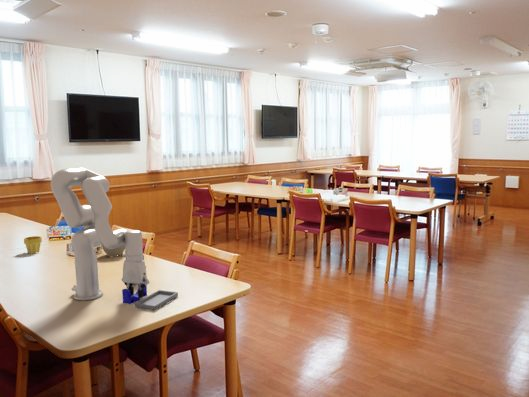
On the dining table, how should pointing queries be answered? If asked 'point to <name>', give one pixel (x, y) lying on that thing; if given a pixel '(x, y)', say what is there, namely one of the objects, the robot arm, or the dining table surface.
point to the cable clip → (132, 296)
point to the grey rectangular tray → (156, 300)
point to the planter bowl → (114, 250)
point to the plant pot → (33, 243)
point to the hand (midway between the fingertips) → (136, 296)
